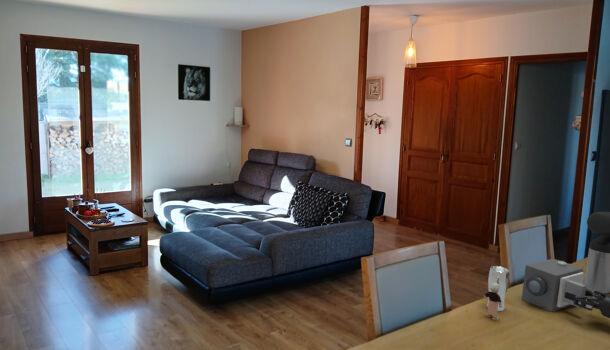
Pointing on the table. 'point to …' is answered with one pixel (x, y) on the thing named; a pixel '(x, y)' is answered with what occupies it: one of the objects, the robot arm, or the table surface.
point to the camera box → (546, 282)
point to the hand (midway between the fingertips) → (571, 292)
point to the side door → (571, 288)
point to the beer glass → (499, 282)
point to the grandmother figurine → (493, 301)
